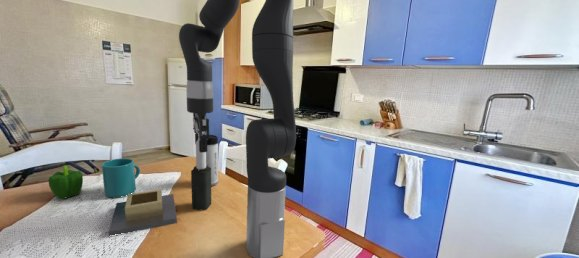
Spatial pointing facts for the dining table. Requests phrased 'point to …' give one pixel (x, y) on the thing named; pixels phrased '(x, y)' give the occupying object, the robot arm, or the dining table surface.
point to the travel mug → (212, 158)
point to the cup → (119, 177)
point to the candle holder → (143, 212)
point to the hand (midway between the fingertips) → (201, 148)
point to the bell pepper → (66, 183)
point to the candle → (201, 182)
